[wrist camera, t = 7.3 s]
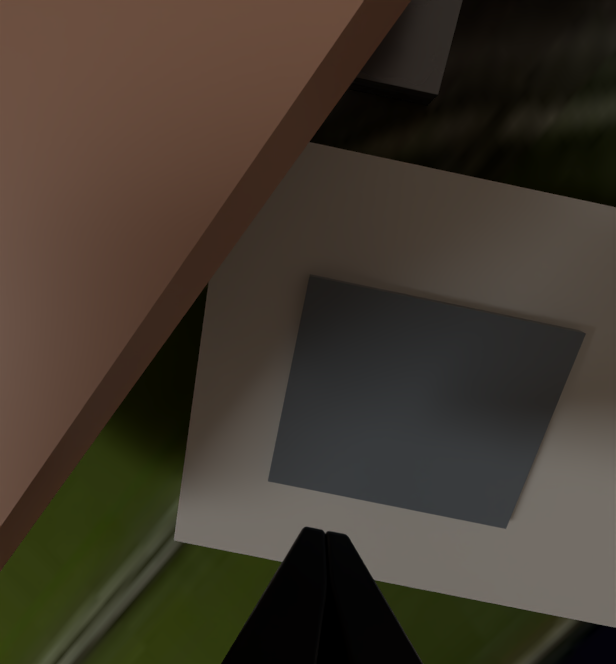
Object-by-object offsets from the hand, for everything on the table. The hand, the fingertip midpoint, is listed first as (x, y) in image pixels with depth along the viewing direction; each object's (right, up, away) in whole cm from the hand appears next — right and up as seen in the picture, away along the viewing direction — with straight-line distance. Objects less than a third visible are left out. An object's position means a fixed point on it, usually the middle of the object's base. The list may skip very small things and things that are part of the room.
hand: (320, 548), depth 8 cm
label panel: (+10, +1, +5) cm, 11 cm away
